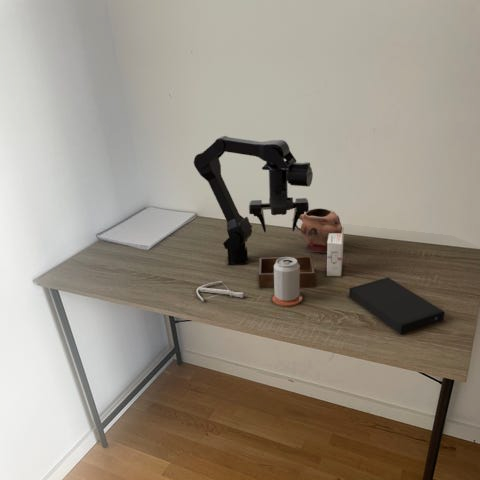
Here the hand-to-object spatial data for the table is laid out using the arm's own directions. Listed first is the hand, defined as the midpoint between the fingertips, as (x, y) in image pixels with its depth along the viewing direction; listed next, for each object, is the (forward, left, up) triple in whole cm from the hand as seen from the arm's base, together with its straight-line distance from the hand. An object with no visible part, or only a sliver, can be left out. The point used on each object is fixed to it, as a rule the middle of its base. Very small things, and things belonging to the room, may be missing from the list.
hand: (279, 231), depth 153 cm
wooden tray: (+2, -8, -13) cm, 16 cm away
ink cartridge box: (+18, -4, -13) cm, 23 cm away
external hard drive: (+32, -29, -13) cm, 45 cm away
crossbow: (-19, -18, -13) cm, 29 cm away
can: (+2, -22, -13) cm, 25 cm away
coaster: (+2, -22, -13) cm, 26 cm away
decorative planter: (+14, +15, -13) cm, 24 cm away
